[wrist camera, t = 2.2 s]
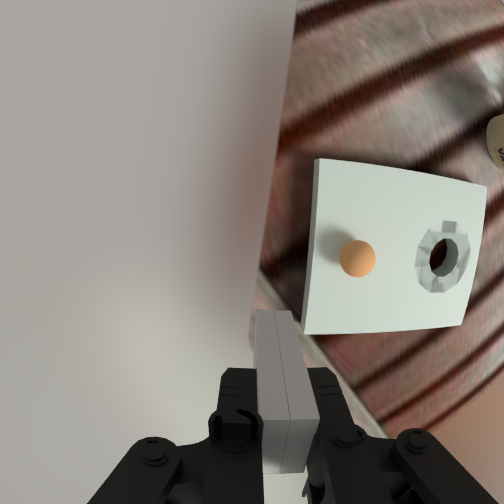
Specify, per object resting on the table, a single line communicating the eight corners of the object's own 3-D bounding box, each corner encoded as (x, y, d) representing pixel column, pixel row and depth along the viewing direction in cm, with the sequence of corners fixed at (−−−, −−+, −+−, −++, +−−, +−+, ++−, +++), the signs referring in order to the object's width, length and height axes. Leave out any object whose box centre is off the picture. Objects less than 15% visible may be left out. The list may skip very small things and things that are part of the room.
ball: (337, 235, 28) (348, 243, 25) (369, 237, 28) (384, 245, 25) (333, 270, 29) (343, 282, 25) (365, 271, 29) (378, 282, 25)
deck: (300, 323, 33) (304, 334, 31) (314, 159, 29) (319, 158, 26) (451, 317, 33) (461, 324, 31) (474, 185, 29) (486, 186, 26)
